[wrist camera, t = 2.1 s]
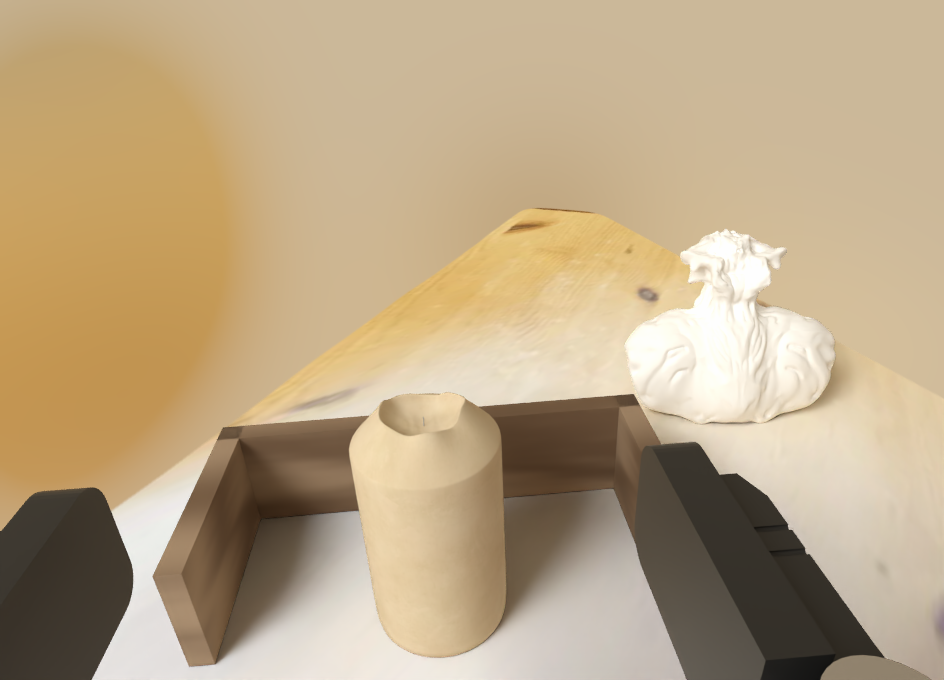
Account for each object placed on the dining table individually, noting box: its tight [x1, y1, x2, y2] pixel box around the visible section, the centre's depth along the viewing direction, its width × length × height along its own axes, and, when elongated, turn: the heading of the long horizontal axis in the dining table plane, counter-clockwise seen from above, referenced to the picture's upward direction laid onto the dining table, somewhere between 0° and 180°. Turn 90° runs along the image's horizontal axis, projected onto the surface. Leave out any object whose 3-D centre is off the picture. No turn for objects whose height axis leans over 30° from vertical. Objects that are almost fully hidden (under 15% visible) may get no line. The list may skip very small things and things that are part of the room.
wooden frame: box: [153, 394, 661, 667], centre depth 28 cm, size 9×20×5 cm, turn 94°
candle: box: [349, 392, 506, 657], centre depth 25 cm, size 6×6×10 cm
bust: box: [624, 229, 836, 424], centre depth 38 cm, size 12×8×11 cm
